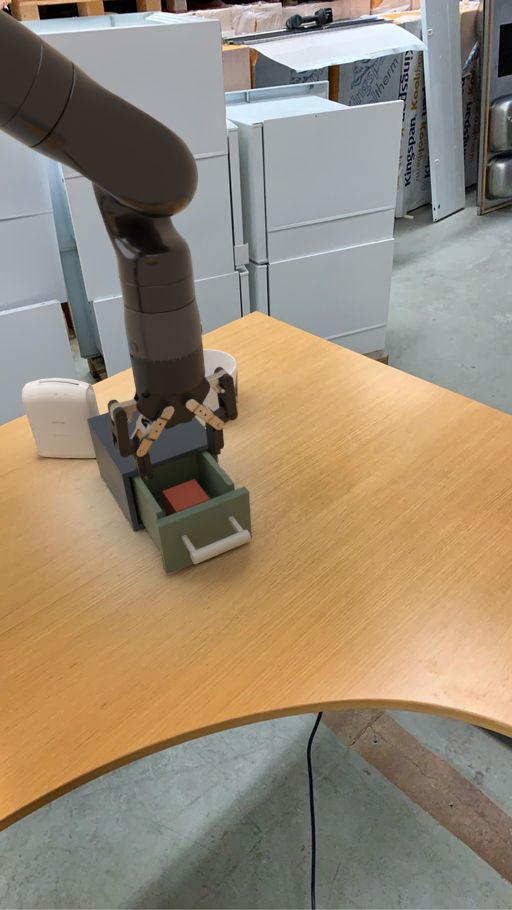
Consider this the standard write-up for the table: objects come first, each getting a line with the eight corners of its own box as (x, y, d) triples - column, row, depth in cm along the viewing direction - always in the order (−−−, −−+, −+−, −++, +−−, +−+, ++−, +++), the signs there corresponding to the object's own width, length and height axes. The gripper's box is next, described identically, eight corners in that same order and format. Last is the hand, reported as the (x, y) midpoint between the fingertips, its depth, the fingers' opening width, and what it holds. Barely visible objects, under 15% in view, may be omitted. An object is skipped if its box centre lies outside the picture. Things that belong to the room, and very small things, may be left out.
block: (180, 538, 80) (176, 511, 77) (166, 516, 83) (162, 490, 80) (212, 525, 81) (210, 498, 79) (197, 504, 84) (194, 478, 82)
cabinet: (221, 497, 88) (216, 441, 82) (133, 532, 84) (121, 474, 78) (180, 445, 98) (173, 391, 92) (100, 473, 93) (86, 418, 87)
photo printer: (35, 459, 96) (13, 388, 89) (45, 441, 100) (24, 371, 92) (103, 461, 95) (86, 389, 88) (111, 443, 99) (95, 373, 91)
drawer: (269, 560, 78) (267, 512, 73) (181, 599, 74) (173, 551, 69) (208, 482, 89) (203, 437, 85) (129, 512, 85) (119, 466, 81)
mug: (163, 405, 106) (156, 362, 101) (218, 384, 111) (215, 342, 106) (204, 445, 98) (199, 400, 93) (262, 421, 102) (261, 377, 97)
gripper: (211, 308, 72) (221, 428, 82) (85, 342, 66) (112, 466, 76) (244, 336, 66) (250, 460, 76) (110, 375, 61) (135, 503, 71)
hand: (181, 463), depth 76 cm, fingers open, 8 cm apart
